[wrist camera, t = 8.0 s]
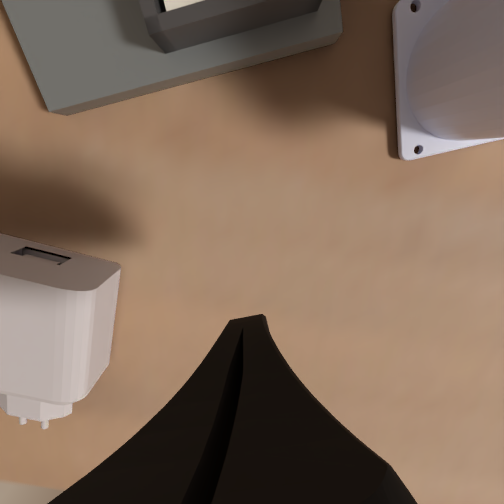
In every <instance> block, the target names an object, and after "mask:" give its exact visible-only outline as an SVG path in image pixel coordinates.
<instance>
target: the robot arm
mask: <svg viewBox="0 0 504 504" xmlns="http://www.w3.org/2000/svg"><path fill="white" fill-rule="evenodd" d="M411 4H415V5H416V8H417V9H416V12H412V11H411V9H410V5H411ZM392 21H393V44H394V67H395V89H396V112H397V135H398V154H399V157H400V158H401V159H402V160H413V159H417V158H422V157H426V156H431V155H435V154H439V153H444V152H448V151H453V150H457V149H461V148H466V147H470V146H475V145H479V144H483V143H488V142H492V141H497V140H501V139H504V0H400V1H399V2H398V3H397V4H396V5H395V6H394V9H393V13H392ZM416 146H419V152H418V153H417V154H415V153H414V148H415V147H416ZM48 504H417V502H416V501H415V499H414V498H413V496H412V495H411V493H410V492H409V490H408V489H407V488H406V486H405V485H404V483H403V482H402V481H401V479H400V478H399V476H398V475H397V474H396V472H395V471H394V470H393V468H392V467H391V465H389V464H388V463H387V462H386V461H385V460H383V459H382V458H381V457H380V456H378V455H377V454H376V453H375V452H373V451H372V450H371V449H370V448H368V447H367V446H366V445H365V444H364V443H363V442H361V441H360V440H359V439H358V438H357V437H355V436H354V435H353V434H352V433H351V432H350V431H349V430H348V429H347V428H345V427H344V426H343V425H342V424H341V423H340V422H339V421H338V420H337V419H336V418H335V417H334V416H333V415H332V414H331V413H330V412H329V411H328V410H327V409H326V408H325V407H324V406H323V405H322V404H321V403H320V402H319V401H318V400H317V399H316V398H315V397H314V396H313V395H312V394H311V393H310V391H309V390H308V389H307V388H306V387H305V386H304V384H303V383H302V382H301V381H300V380H299V378H298V377H297V376H296V374H295V373H294V372H293V371H292V369H291V368H290V366H289V365H288V363H287V362H286V360H285V359H284V357H283V356H282V354H281V353H280V351H279V350H278V348H277V346H276V344H275V342H274V340H273V339H272V337H271V334H270V332H269V328H268V324H267V320H266V316H264V315H263V314H259V315H254V316H249V317H244V318H238V319H233V320H230V321H229V322H228V324H227V325H226V327H225V328H224V330H223V332H222V333H221V335H220V336H219V338H218V339H217V341H216V342H215V344H214V345H213V347H212V348H211V350H210V351H209V353H208V354H207V356H206V357H205V358H204V360H203V361H202V363H201V364H200V365H199V367H198V368H197V369H196V370H195V372H194V373H193V374H192V376H191V377H190V378H189V380H188V381H187V382H186V383H185V384H184V385H183V387H182V388H181V389H180V390H179V391H178V392H177V393H176V394H175V396H174V397H173V398H172V399H171V400H170V401H169V402H168V403H167V404H166V405H165V406H164V407H163V408H162V409H161V410H160V411H159V412H158V413H157V414H156V415H155V416H154V417H153V418H152V419H151V420H150V421H149V422H148V423H147V424H146V425H145V426H144V427H143V428H141V429H140V430H139V431H138V432H137V433H136V434H135V435H134V436H133V437H132V438H131V439H129V440H128V441H127V442H126V443H125V444H124V445H122V446H121V447H120V448H119V449H118V450H117V451H115V452H114V453H113V454H112V455H111V456H109V457H108V458H107V459H106V460H104V461H103V462H102V463H101V464H100V465H98V466H97V467H96V468H95V469H93V470H92V471H91V472H89V473H88V474H87V475H86V476H84V477H83V478H81V479H80V480H79V481H77V482H76V483H75V484H73V485H72V486H71V487H69V488H68V489H67V490H65V491H64V492H63V493H61V494H60V495H59V496H57V497H56V498H55V499H53V500H52V501H51V502H49V503H48Z"/></svg>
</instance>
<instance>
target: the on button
mask: <svg viewBox="0 0 504 504" xmlns="http://www.w3.org/2000/svg"><path fill="white" fill-rule="evenodd" d="M200 1H204V0H164V4H165V7H166V11H170V10H173V9H177V8H180V7H183V6H187V5H190V4H194V3H197V2H200Z"/></svg>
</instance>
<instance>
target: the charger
mask: <svg viewBox="0 0 504 504" xmlns="http://www.w3.org/2000/svg"><path fill="white" fill-rule="evenodd" d="M26 246H27V247H31V248H35V249H39V250H43V251H47V252H51V253H55V254H59V255H63V256H67V257H71V259H66V258H62V257H58V256H54V255H50V254H46V253H42V252H38V251H34V250H30V249H26V248H23V247H26ZM120 272H121V266H120V265H119V264H118V263H116V262H112V261H108V260H104V259H100V258H96V257H92V256H89V255H85V254H81V253H77V252H73V251H69V250H65V249H61V248H57V247H53V246H49V245H45V244H41V243H37V242H33V241H29V240H26V239H22V238H18V237H14V236H10V235H6V234H1V233H0V407H1V408H2V409H3V410H4V411H5V412H6V414H7V415H12V416H17V417H19V424H21V425H24V424H26V423H27V419H31V420H36V421H41V428H42V429H46V428H48V426H49V420H50V419H55V418H61V417H65V416H67V415H69V414H71V413H72V403H74V402H76V401H79V400H81V399H83V398H85V397H86V396H87V395H88V393H89V392H90V390H91V389H92V387H93V386H94V385H95V383H96V382H97V380H98V379H99V377H100V376H101V375H102V373H103V372H104V370H105V369H106V367H107V366H108V365H109V360H110V352H111V344H112V336H113V328H114V320H115V312H116V304H117V296H118V288H119V280H120Z"/></svg>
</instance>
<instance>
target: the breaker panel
mask: <svg viewBox="0 0 504 504" xmlns="http://www.w3.org/2000/svg"><path fill="white" fill-rule="evenodd" d="M2 3H3V5H4V7H5V10H6V12H7V14H8V17H9V19H10V22H11V24H12V26H13V29H14V31H15V33H16V36H17V38H18V40H19V43H20V45H21V47H22V50H23V52H24V54H25V57H26V59H27V61H28V64H29V66H30V68H31V71H32V73H33V75H34V78H35V80H36V82H37V85H38V87H39V89H40V92H41V94H42V97H43V99H44V101H45V104H46V106H47V108H48V111H49V112H52V113H57V114H62V115H66V116H68V115H71V114H75V113H79V112H83V111H86V110H90V109H94V108H97V107H101V106H105V105H108V104H112V103H116V102H120V101H123V100H127V99H131V98H134V97H138V96H142V95H145V94H149V93H153V92H157V91H160V90H164V89H168V88H171V87H175V86H179V85H182V84H186V83H190V82H194V81H197V80H201V79H205V78H208V77H212V76H216V75H220V74H223V73H227V72H231V71H234V70H238V69H242V68H245V67H249V66H253V65H257V64H260V63H264V62H268V61H271V60H275V59H279V58H282V57H286V56H290V55H294V54H297V53H301V52H305V51H308V50H312V49H316V48H319V47H323V46H327V45H331V44H334V43H335V42H336V41H337V39H338V38H339V37H340V35H341V34H342V32H343V27H342V16H341V5H340V0H204V1H200V2H197V3H194V4H190V5H187V6H183V7H180V8H177V9H173V10H170V11H166V7H165V4H164V0H2Z"/></svg>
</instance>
